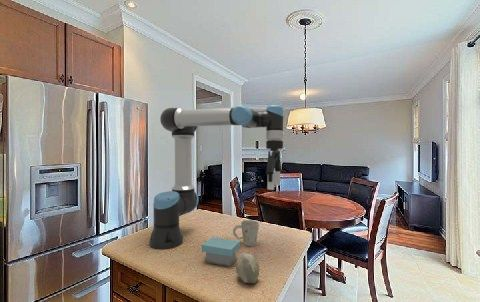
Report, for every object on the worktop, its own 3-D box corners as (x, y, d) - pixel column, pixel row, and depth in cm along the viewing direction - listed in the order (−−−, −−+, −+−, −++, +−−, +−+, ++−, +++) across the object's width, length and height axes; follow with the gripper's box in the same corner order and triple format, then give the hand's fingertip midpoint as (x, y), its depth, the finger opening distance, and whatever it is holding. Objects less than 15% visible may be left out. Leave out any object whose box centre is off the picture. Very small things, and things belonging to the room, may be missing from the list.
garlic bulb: (253, 294, 80) (255, 270, 76) (229, 284, 83) (230, 261, 79) (262, 272, 88) (264, 250, 84) (240, 264, 91) (242, 243, 87)
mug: (257, 247, 111) (257, 225, 111) (230, 245, 113) (230, 224, 113) (259, 241, 119) (259, 220, 119) (234, 239, 122) (234, 219, 121)
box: (205, 262, 96) (206, 247, 96) (213, 255, 103) (213, 241, 102) (229, 266, 93) (229, 251, 93) (235, 259, 99) (235, 244, 99)
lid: (201, 251, 96) (201, 244, 96) (212, 243, 104) (212, 237, 104) (231, 256, 91) (231, 249, 91) (239, 247, 100) (239, 241, 100)
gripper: (277, 139, 97) (276, 192, 98) (287, 141, 121) (287, 184, 121) (259, 139, 100) (258, 191, 100) (272, 141, 123) (272, 183, 124)
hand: (274, 187), depth 111 cm, fingers open, 13 cm apart
